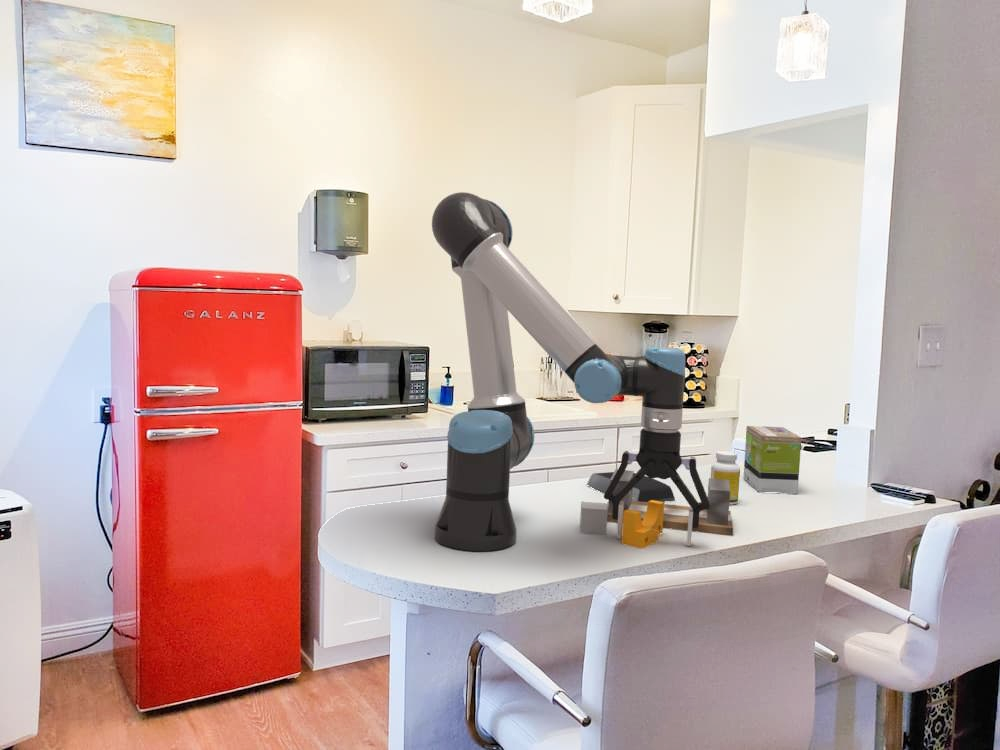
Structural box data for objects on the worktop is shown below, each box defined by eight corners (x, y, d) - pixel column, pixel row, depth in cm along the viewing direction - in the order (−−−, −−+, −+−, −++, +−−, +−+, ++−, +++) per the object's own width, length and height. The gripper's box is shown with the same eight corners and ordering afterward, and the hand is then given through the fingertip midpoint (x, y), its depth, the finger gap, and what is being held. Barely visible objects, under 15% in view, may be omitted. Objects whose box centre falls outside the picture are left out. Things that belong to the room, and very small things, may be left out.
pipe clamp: (642, 549, 147) (644, 515, 146) (621, 544, 149) (623, 511, 149) (670, 536, 156) (672, 504, 156) (650, 531, 159) (652, 499, 158)
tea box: (741, 479, 211) (745, 424, 210) (779, 481, 211) (784, 426, 210) (757, 493, 196) (762, 434, 195) (798, 495, 196) (803, 436, 195)
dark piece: (633, 507, 178) (634, 489, 178) (583, 488, 195) (584, 471, 195) (677, 502, 185) (678, 485, 184) (626, 484, 202) (627, 468, 201)
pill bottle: (739, 506, 182) (743, 456, 181) (710, 504, 183) (714, 454, 182) (735, 499, 188) (739, 451, 187) (707, 497, 189) (711, 449, 188)
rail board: (602, 521, 164) (604, 480, 163) (609, 504, 178) (611, 467, 177) (732, 535, 158) (735, 493, 157) (729, 517, 172) (732, 479, 171)
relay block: (580, 533, 155) (581, 508, 155) (579, 525, 160) (581, 501, 160) (606, 534, 155) (607, 509, 155) (604, 527, 160) (606, 503, 159)
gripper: (593, 426, 149) (587, 538, 151) (729, 437, 143) (720, 553, 145) (598, 421, 156) (592, 527, 158) (727, 431, 151) (719, 541, 153)
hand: (653, 540), depth 152 cm, fingers open, 12 cm apart
